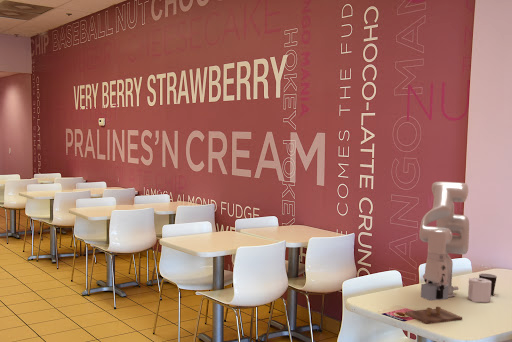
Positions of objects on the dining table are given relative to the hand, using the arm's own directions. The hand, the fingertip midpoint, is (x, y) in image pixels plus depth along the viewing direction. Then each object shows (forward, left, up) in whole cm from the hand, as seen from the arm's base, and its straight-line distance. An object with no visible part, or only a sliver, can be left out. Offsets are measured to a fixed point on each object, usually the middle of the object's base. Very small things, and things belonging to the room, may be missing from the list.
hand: (434, 296), depth 236 cm
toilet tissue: (-43, -16, -10) cm, 47 cm away
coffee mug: (-57, -25, -10) cm, 63 cm away
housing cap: (0, 0, -1) cm, 1 cm away
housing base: (0, 0, -9) cm, 9 cm away
